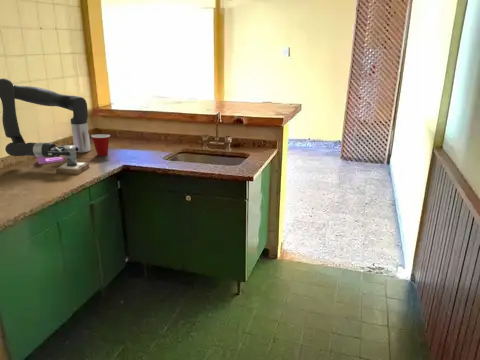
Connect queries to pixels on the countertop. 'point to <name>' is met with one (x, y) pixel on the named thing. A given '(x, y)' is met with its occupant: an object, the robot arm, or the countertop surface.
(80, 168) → the stand
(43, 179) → the countertop surface
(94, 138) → the plastic cup
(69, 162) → the housing
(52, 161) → the bracket
